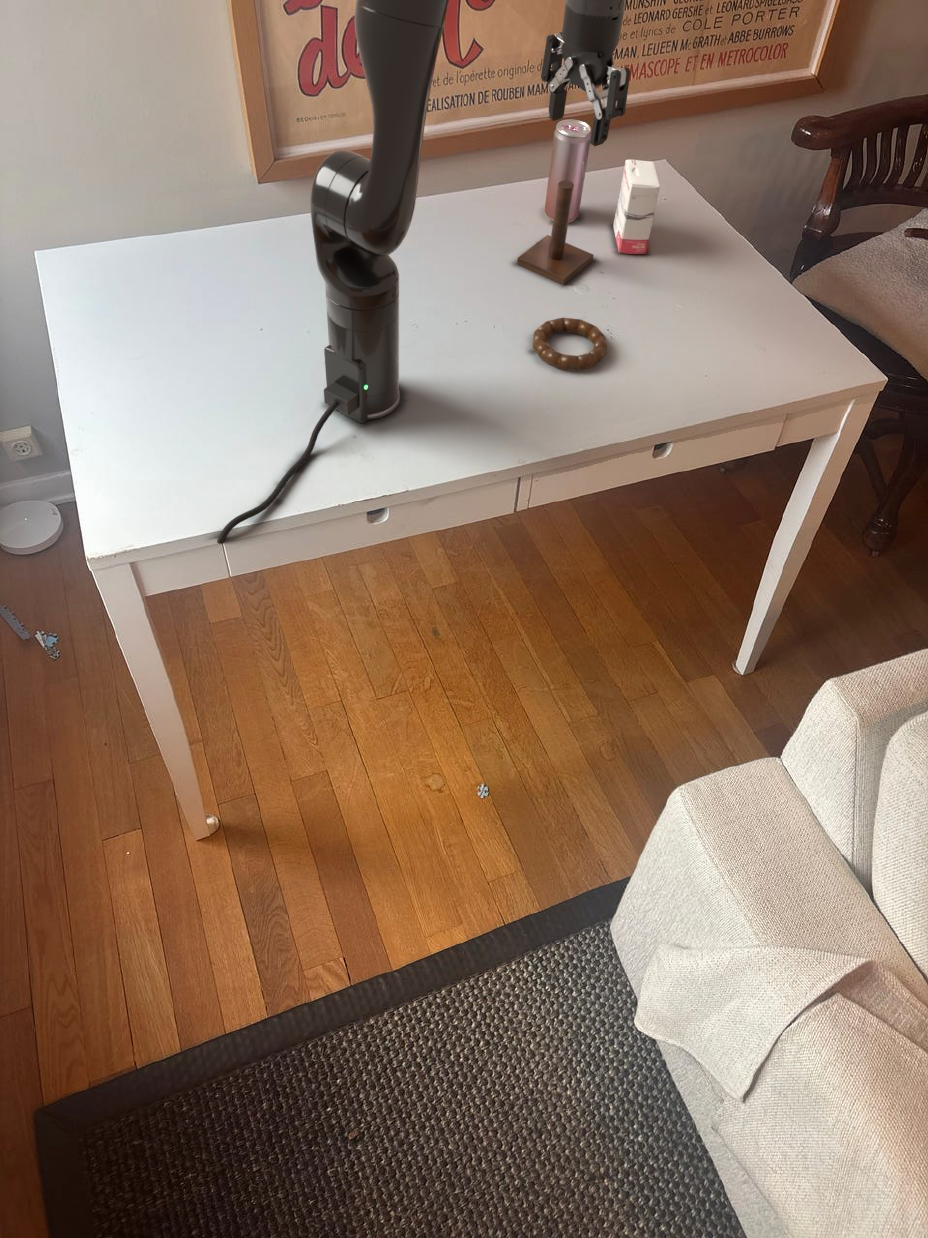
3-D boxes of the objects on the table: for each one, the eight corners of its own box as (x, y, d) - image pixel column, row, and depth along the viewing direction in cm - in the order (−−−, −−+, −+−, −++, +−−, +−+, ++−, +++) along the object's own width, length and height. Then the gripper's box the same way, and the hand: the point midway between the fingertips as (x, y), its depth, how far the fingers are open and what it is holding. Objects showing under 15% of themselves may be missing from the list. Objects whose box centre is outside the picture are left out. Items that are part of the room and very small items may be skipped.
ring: (581, 382, 139) (583, 370, 137) (518, 351, 142) (519, 340, 141) (619, 346, 144) (621, 334, 143) (557, 317, 148) (559, 306, 146)
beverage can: (549, 203, 169) (561, 115, 157) (582, 210, 168) (596, 123, 156) (539, 219, 165) (550, 131, 153) (573, 227, 164) (586, 139, 152)
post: (563, 284, 153) (575, 206, 143) (516, 264, 156) (525, 185, 146) (592, 260, 158) (606, 183, 148) (546, 240, 161) (557, 163, 151)
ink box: (646, 255, 160) (661, 186, 151) (617, 253, 160) (631, 184, 151) (640, 227, 165) (654, 159, 156) (612, 225, 165) (625, 157, 156)
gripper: (536, -13, 123) (523, 117, 136) (613, 27, 117) (591, 159, 130) (579, -24, 127) (562, 104, 139) (656, 15, 120) (631, 145, 133)
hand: (576, 131), depth 135 cm, fingers open, 8 cm apart
